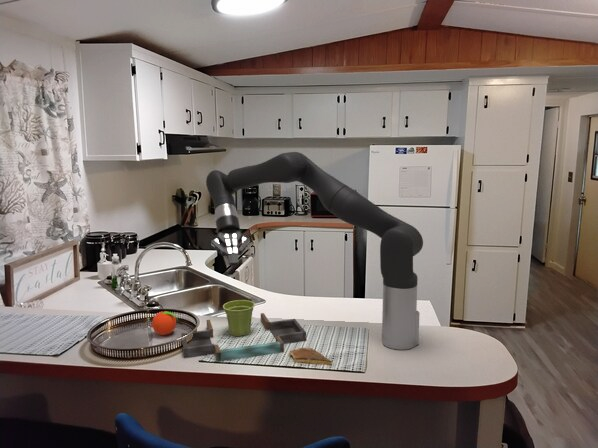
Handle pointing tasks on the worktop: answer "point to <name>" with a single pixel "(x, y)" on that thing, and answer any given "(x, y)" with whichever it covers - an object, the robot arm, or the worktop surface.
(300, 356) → the shard
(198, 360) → the worktop surface
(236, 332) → the plant pot
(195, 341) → the two-trap channel
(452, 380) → the worktop surface
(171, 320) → the clementine
